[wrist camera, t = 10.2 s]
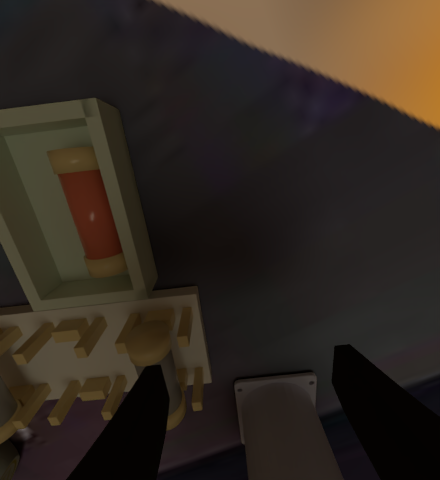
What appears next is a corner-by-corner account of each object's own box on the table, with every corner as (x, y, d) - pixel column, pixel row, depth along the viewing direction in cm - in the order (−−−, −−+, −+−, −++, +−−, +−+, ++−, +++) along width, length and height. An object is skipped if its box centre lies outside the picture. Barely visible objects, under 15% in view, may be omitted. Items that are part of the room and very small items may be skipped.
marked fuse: (111, 257, 18) (142, 259, 16) (79, 276, 15) (113, 279, 14) (79, 152, 15) (114, 146, 14) (33, 153, 12) (71, 146, 11)
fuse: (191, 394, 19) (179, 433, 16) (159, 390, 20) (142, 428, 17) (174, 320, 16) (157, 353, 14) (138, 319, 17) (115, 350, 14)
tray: (158, 276, 18) (148, 298, 16) (61, 287, 19) (33, 311, 16) (118, 109, 14) (95, 97, 11) (-6, 124, 14) (-60, 117, 12)
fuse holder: (211, 371, 22) (211, 419, 18) (10, 392, 22) (-36, 444, 18) (197, 285, 19) (192, 321, 15) (-40, 312, 19) (-108, 353, 15)
